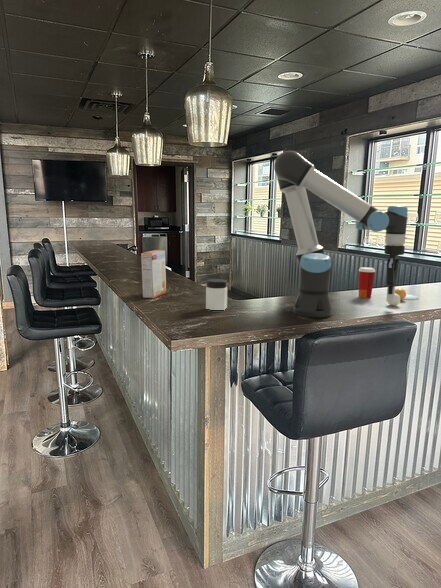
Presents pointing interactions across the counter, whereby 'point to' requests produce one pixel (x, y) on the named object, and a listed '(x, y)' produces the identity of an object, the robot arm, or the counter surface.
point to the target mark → (410, 297)
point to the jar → (216, 294)
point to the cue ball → (395, 300)
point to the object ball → (400, 293)
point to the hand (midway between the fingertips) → (390, 301)
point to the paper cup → (366, 281)
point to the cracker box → (153, 273)
